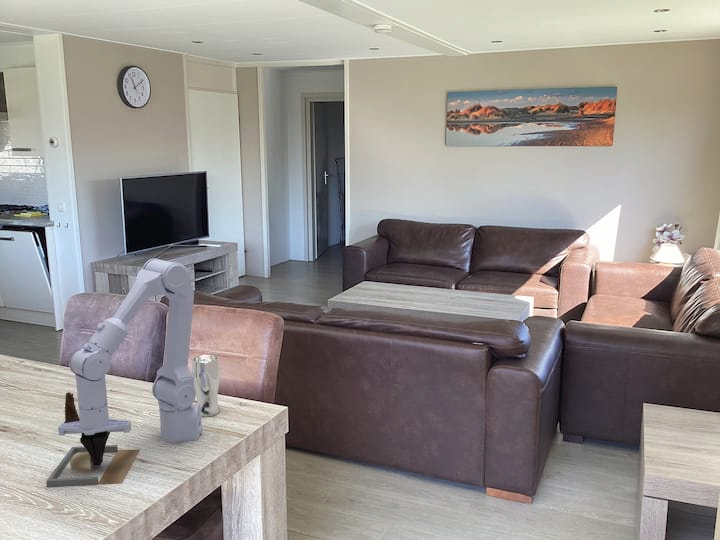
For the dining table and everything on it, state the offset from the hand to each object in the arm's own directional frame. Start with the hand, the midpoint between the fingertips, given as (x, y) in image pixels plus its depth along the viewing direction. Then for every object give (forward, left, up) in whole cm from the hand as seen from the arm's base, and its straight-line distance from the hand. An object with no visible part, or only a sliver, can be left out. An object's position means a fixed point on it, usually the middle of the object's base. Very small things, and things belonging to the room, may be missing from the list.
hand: (98, 463), depth 138 cm
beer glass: (-19, -30, -2) cm, 36 cm away
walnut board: (-4, 0, -2) cm, 5 cm away
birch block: (+3, 0, -2) cm, 4 cm away
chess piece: (+13, -22, -2) cm, 26 cm away
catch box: (+3, 0, -2) cm, 4 cm away
